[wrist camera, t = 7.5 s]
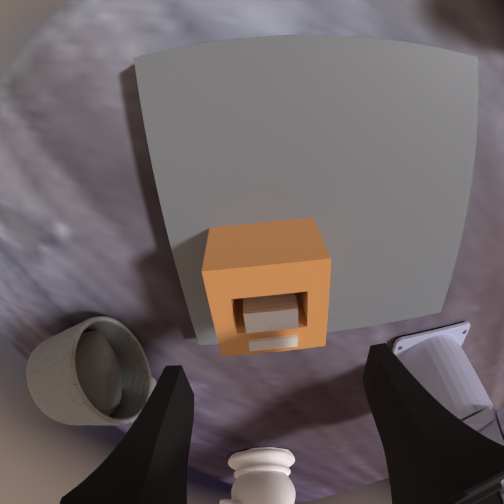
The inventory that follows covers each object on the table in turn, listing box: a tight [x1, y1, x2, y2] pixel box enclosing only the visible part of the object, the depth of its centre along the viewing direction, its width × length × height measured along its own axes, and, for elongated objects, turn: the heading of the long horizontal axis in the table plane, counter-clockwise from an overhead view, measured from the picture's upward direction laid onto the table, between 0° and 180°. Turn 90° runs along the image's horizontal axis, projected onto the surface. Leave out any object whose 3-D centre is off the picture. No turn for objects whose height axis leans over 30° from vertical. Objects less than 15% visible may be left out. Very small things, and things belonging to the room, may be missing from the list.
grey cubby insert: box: [243, 293, 298, 333], centre depth 16 cm, size 1×2×4 cm, turn 95°
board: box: [134, 35, 479, 345], centre depth 17 cm, size 18×18×1 cm
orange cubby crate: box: [202, 218, 331, 356], centre depth 16 cm, size 5×5×4 cm
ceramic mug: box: [25, 316, 156, 425], centre depth 20 cm, size 11×8×8 cm
